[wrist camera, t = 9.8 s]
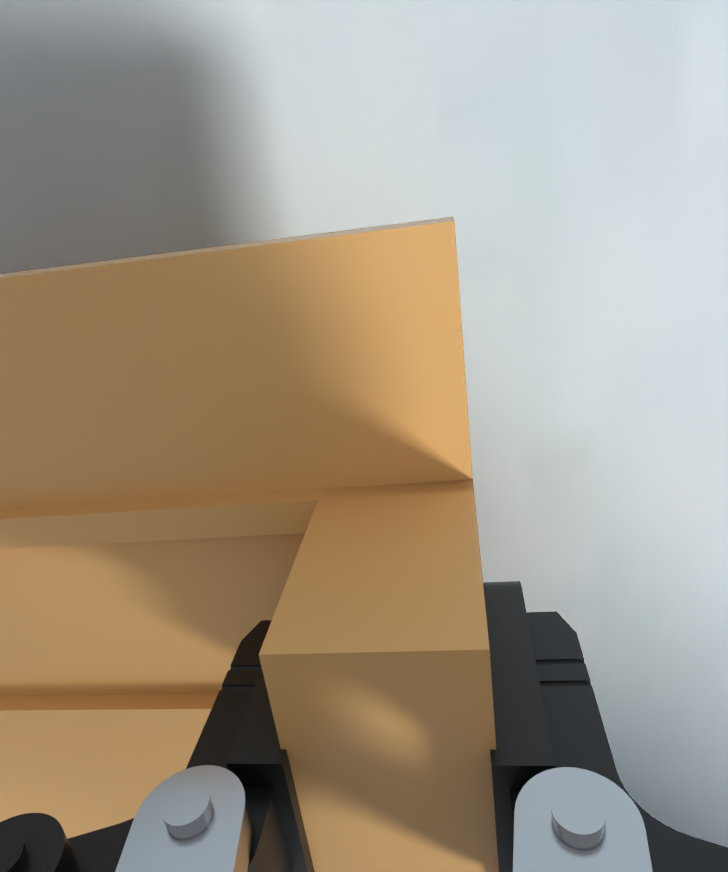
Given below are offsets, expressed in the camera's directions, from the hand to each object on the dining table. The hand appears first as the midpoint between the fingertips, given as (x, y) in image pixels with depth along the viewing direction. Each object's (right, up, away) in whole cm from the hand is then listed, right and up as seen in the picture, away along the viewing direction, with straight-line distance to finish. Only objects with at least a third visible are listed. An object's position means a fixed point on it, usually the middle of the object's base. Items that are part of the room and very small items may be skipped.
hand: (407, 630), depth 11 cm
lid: (-7, +1, +4) cm, 8 cm away
